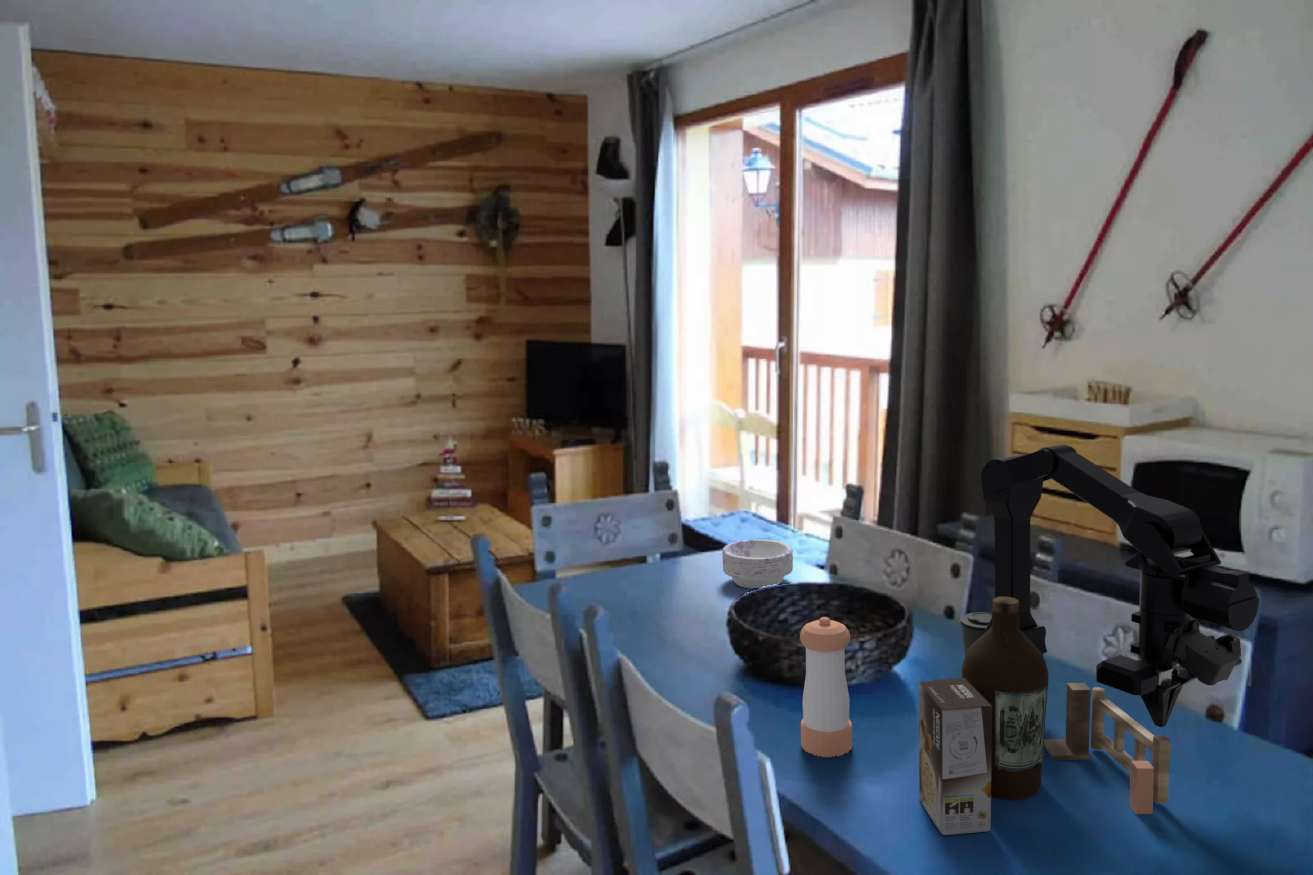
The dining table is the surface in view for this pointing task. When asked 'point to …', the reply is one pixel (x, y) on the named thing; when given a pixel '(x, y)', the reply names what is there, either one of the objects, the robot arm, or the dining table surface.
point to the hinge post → (1073, 726)
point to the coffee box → (955, 755)
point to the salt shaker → (825, 690)
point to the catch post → (1141, 787)
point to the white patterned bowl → (757, 562)
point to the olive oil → (1011, 700)
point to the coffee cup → (973, 627)
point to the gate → (1142, 739)
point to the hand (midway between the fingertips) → (1160, 725)
